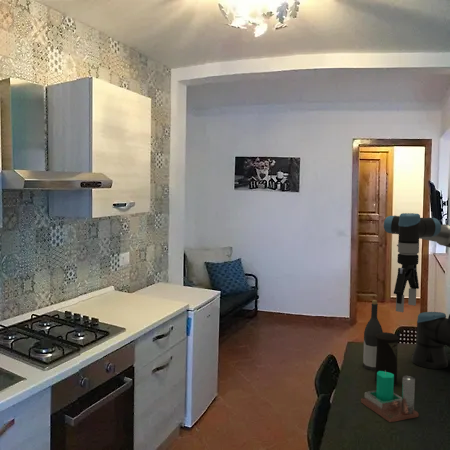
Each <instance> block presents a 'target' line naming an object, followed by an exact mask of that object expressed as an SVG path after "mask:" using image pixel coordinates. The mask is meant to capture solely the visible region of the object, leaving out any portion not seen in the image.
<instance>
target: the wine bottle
mask: <svg viewBox="0 0 450 450" xmlns="http://www.w3.org/2000/svg"><path fill="white" fill-rule="evenodd" d="M378 305H379V304H378V300H377V299H372V301H371V315H370V319H369V320H368V322H367V323H366V325H365V327H364V332H363V358H362V366H363V368H364V369H366V370H369V371H374V372H375V370H376V352H377V339H376V335H377V334H378V333H382V332H384V330H383V328H382V325H381V322H380V321H379V319H378Z"/></svg>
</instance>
